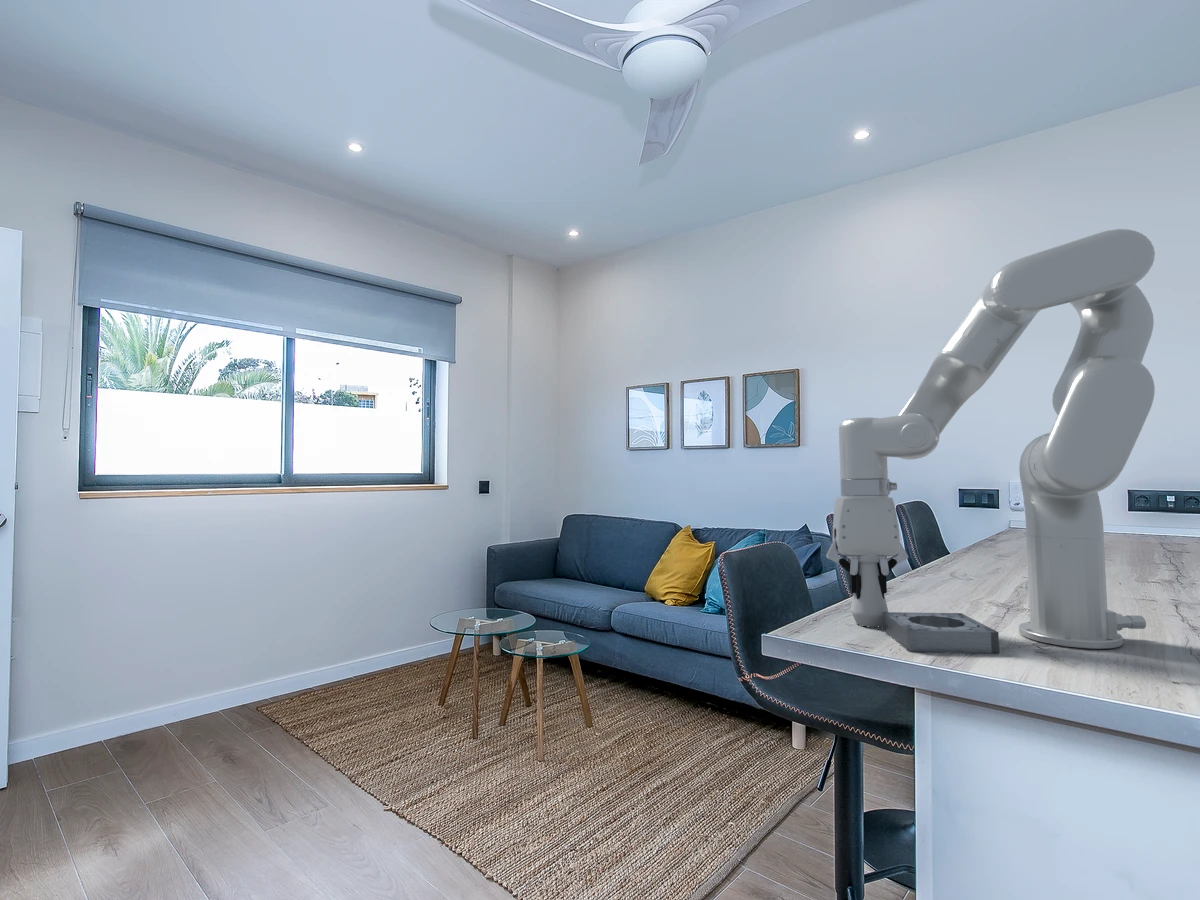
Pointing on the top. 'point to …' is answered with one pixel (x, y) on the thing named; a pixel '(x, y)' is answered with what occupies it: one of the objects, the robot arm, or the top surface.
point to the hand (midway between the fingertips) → (868, 596)
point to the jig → (940, 632)
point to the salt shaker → (869, 594)
